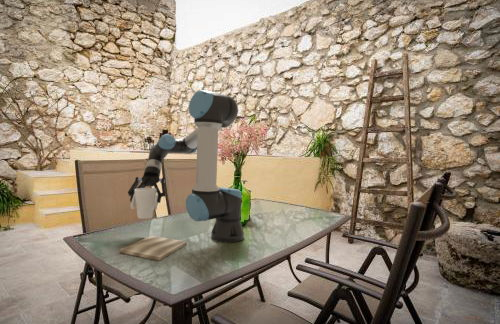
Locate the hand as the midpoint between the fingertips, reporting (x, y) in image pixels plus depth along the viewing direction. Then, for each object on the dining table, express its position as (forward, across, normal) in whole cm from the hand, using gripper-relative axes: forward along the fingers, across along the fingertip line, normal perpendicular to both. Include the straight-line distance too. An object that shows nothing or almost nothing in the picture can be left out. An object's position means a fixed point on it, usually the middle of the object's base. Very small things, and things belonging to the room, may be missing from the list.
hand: (143, 208), depth 120 cm
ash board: (+19, -8, +1) cm, 21 cm away
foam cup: (+1, 0, -6) cm, 6 cm away
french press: (-14, -48, -33) cm, 60 cm away
